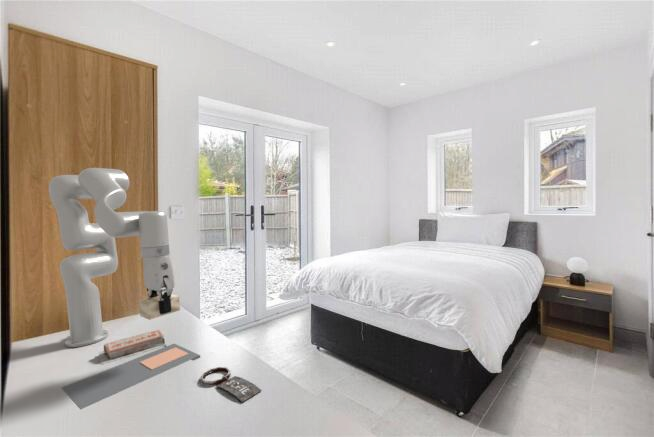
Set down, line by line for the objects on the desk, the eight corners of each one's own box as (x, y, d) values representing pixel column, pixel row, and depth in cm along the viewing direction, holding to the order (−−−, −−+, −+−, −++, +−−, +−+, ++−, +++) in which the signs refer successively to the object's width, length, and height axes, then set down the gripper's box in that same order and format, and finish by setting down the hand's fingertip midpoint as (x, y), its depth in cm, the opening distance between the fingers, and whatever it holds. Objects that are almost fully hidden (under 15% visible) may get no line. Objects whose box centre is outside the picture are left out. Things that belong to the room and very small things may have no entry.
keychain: (237, 408, 72) (236, 400, 72) (195, 381, 84) (194, 374, 84) (264, 391, 78) (263, 383, 78) (221, 369, 90) (220, 362, 90)
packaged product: (159, 326, 113) (165, 334, 105) (160, 339, 113) (166, 348, 105) (97, 342, 102) (99, 352, 94) (99, 356, 102) (101, 368, 94)
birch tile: (170, 307, 101) (169, 293, 101) (180, 310, 97) (178, 295, 97) (140, 316, 94) (139, 301, 94) (149, 319, 90) (148, 304, 90)
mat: (61, 389, 83) (61, 386, 83) (174, 345, 107) (174, 342, 107) (81, 411, 73) (80, 408, 73) (200, 357, 97) (200, 354, 97)
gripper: (182, 251, 92) (187, 312, 93) (155, 249, 103) (159, 303, 104) (156, 256, 86) (161, 320, 87) (130, 252, 97) (134, 310, 98)
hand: (160, 310), depth 95 cm, fingers closed on birch tile, 6 cm apart
